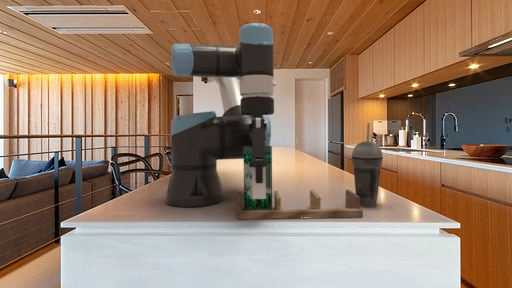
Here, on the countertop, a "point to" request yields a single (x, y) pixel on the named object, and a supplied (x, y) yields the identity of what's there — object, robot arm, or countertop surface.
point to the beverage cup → (367, 170)
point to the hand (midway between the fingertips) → (258, 191)
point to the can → (248, 194)
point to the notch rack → (315, 210)
